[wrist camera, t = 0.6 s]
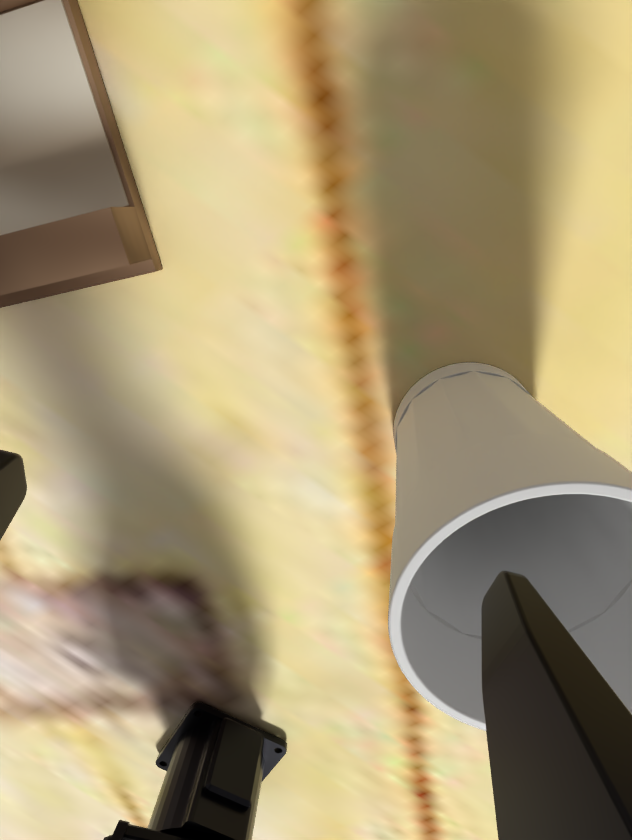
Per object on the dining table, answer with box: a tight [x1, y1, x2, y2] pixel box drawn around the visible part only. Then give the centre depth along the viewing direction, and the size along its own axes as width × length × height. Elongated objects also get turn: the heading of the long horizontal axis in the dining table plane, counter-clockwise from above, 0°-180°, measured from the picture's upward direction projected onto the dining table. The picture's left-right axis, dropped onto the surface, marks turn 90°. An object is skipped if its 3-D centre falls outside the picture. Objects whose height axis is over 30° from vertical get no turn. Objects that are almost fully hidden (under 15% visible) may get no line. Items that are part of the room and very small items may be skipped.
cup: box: [388, 362, 632, 731], centre depth 18 cm, size 8×8×12 cm
